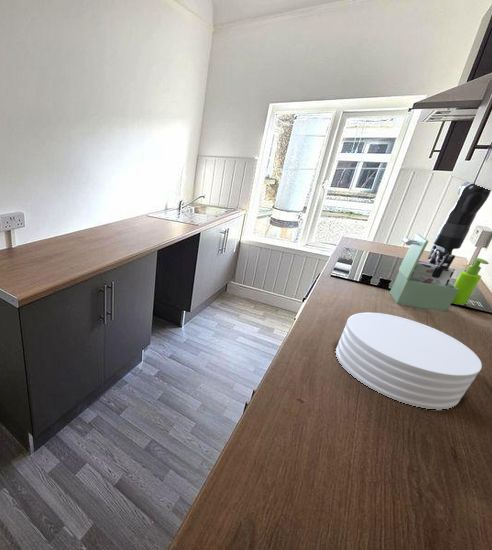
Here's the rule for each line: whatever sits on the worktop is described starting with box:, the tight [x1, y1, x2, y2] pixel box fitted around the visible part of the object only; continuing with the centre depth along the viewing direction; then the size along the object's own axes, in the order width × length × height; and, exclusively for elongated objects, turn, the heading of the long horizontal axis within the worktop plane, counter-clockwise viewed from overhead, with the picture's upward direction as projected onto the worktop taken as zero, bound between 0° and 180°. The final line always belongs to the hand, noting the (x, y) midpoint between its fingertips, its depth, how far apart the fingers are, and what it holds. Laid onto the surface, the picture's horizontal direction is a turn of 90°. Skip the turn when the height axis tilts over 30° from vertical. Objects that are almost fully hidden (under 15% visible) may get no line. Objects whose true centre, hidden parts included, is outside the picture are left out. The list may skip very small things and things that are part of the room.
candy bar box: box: [409, 260, 456, 287], centre depth 122 cm, size 11×5×16 cm, turn 40°
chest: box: [389, 270, 459, 313], centre depth 124 cm, size 16×12×11 cm
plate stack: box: [334, 311, 483, 411], centre depth 84 cm, size 28×28×12 cm
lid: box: [398, 233, 430, 280], centre depth 122 cm, size 16×12×5 cm
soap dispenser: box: [451, 257, 490, 305], centre depth 123 cm, size 6×7×20 cm
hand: (431, 273), depth 121 cm, fingers closed on candy bar box, 6 cm apart
